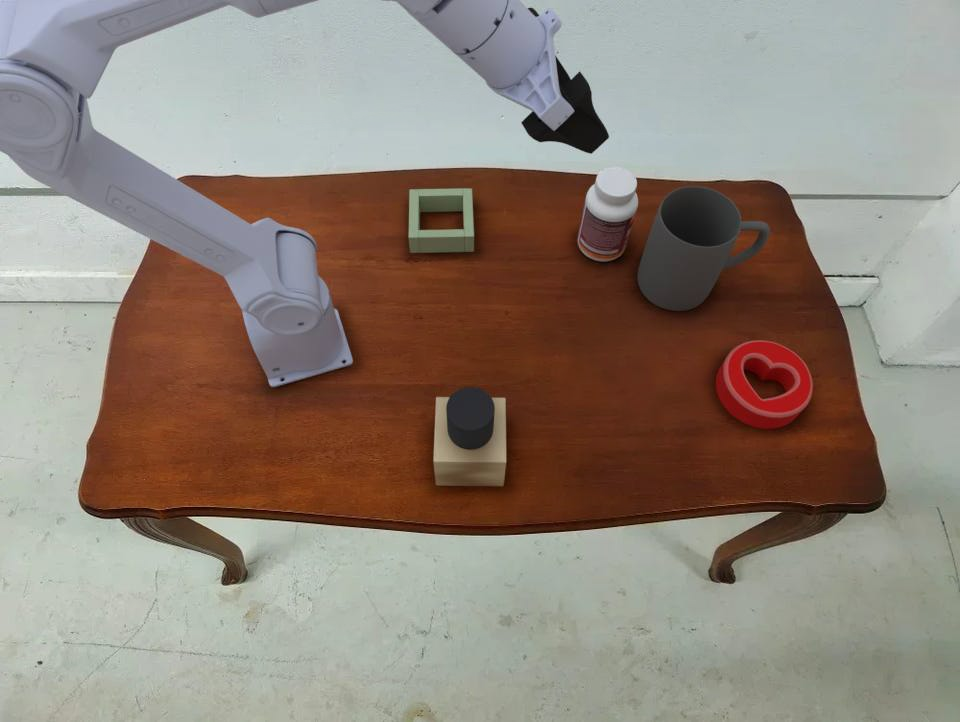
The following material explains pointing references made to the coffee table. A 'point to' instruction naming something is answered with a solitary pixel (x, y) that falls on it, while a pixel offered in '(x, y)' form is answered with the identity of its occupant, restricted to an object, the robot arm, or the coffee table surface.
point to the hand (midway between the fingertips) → (580, 116)
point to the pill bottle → (608, 214)
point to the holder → (441, 203)
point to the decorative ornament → (767, 365)
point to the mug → (692, 247)
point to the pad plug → (470, 417)
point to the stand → (470, 452)
